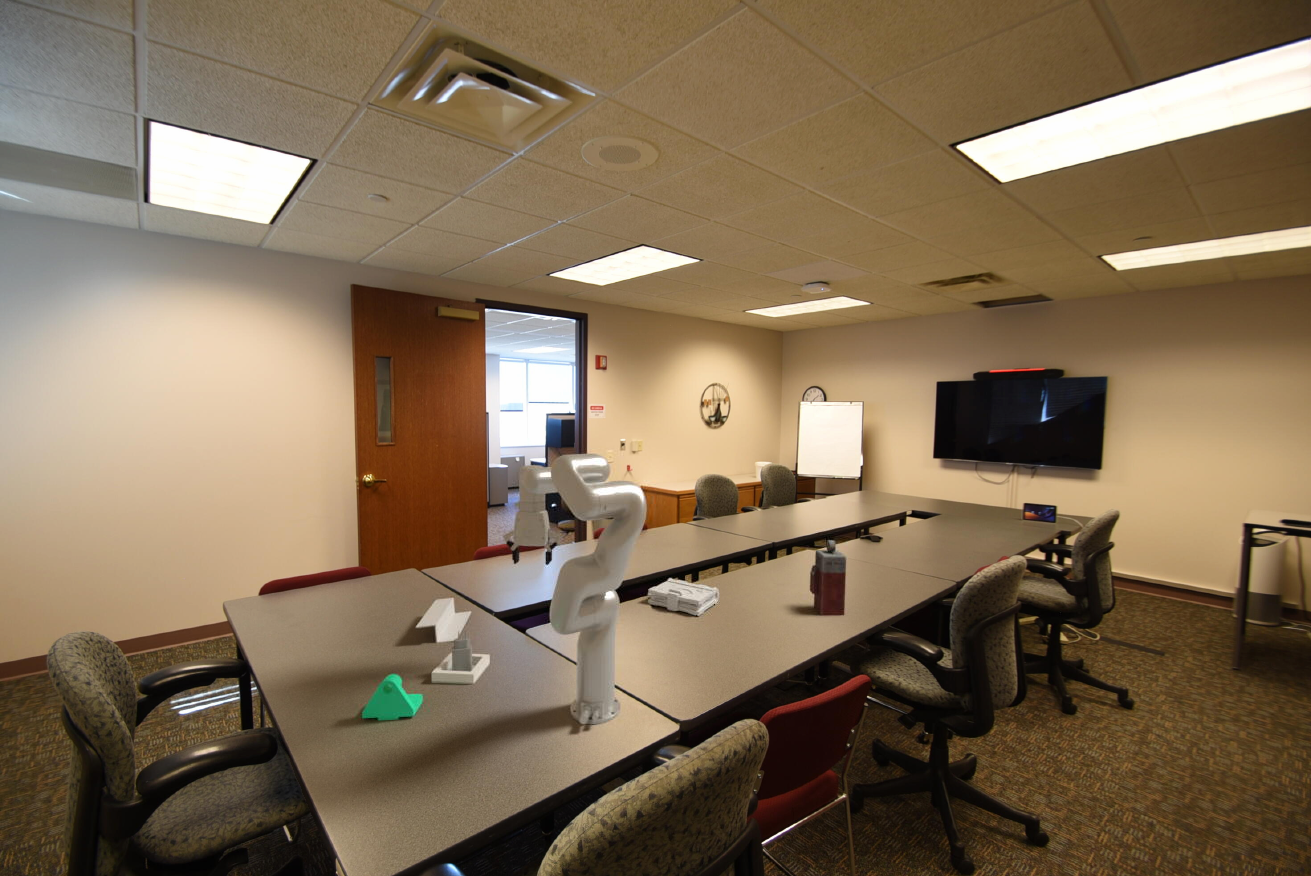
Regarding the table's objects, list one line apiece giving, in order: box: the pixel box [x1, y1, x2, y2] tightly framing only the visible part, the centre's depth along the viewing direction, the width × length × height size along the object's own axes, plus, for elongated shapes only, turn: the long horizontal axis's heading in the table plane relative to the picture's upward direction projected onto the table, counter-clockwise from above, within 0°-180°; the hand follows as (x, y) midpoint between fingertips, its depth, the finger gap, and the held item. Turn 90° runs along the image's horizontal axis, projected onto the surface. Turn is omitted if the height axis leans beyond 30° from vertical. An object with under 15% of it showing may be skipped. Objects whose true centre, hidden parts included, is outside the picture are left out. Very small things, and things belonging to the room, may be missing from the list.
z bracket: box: [415, 597, 472, 644], centre depth 186 cm, size 12×25×6 cm, turn 8°
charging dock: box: [431, 652, 491, 685], centre depth 154 cm, size 12×12×3 cm
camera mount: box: [361, 673, 424, 721], centre depth 134 cm, size 12×8×10 cm, turn 95°
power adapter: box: [451, 630, 473, 672], centre depth 154 cm, size 3×5×12 cm, turn 108°
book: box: [647, 577, 720, 617], centre depth 214 cm, size 19×28×8 cm
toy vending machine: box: [809, 539, 847, 617], centre depth 205 cm, size 9×11×28 cm
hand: (532, 563), depth 161 cm, fingers open, 9 cm apart
